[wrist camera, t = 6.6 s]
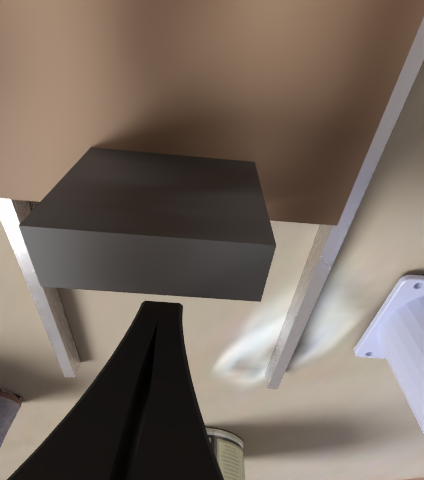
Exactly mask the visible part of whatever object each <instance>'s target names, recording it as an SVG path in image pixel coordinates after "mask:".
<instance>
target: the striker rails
mask: <svg viewBox="0 0 424 480" xmlns="http://www.w3.org/2000/svg"><path fill="white" fill-rule="evenodd" d="M423 61H424V17H423V20H422V22H421V25H420V27H419V29H418V32H417V34H416V37H415V39H414V42H413V44H412V46H411V49H410V51H409V54H408V56H407V58H406V61H405V63H404V66H403V68H402V71H401V73H400V75H399V78H398V80H397V83H396V85H395V87H394V90H393V92H392V95H391V97H390V100H389V102H388V104H387V107H386V109H385V112H384V114H383V116H382V119H381V121H380V124H379V126H378V129H377V131H376V133H375V136H374V138H373V141H372V143H371V145H370V148H369V150H368V153H367V155H366V157H365V160H364V162H363V165H362V167H361V170H360V172H359V174H358V177H357V179H356V182H355V184H354V186H353V189H352V191H351V194H350V196H349V199H348V201H347V203H346V206H345V208H344V211H343V213H342V215H341V218H340V220H339V223H338V225H337V226H335V225H322V224H321V226H320V228H319V231H318V234H317V236H316V239H315V242H314V244H313V247H312V250H311V252H310V255H309V258H308V260H307V263H306V266H305V268H304V271H303V274H302V276H301V279H300V282H299V285H298V287H297V290H296V293H295V295H294V298H293V301H292V303H291V306H290V309H289V311H288V314H287V317H286V319H285V322H284V325H283V327H282V330H281V333H280V336H279V338H278V341H277V344H276V346H275V349H274V352H273V354H272V357H271V360H270V362H269V365H268V368H267V370H266V373H265V375H266V382H267V388H272V389H278V386H279V384H280V382H281V380H282V377H283V375H284V373H285V371H286V368H287V366H288V364H289V362H290V359H291V357H292V355H293V353H294V350H295V348H296V346H297V344H298V341H299V339H300V337H301V335H302V332H303V330H304V328H305V326H306V323H307V321H308V319H309V317H310V314H311V312H312V310H313V308H314V305H315V303H316V301H317V299H318V296H319V294H320V292H321V290H322V287H323V285H324V283H325V281H326V279H327V276H328V274H329V272H330V270H331V267H332V265H333V263H334V261H335V258H336V256H337V254H338V252H339V249H340V247H341V245H342V243H343V240H344V238H345V236H346V234H347V231H348V229H349V227H350V225H351V222H352V220H353V218H354V216H355V213H356V211H357V209H358V207H359V204H360V202H361V200H362V198H363V195H364V193H365V191H366V189H367V186H368V184H369V182H370V180H371V177H372V175H373V173H374V171H375V168H376V166H377V164H378V162H379V159H380V157H381V155H382V153H383V151H384V148H385V146H386V144H387V142H388V139H389V137H390V135H391V133H392V130H393V128H394V126H395V124H396V121H397V119H398V117H399V115H400V112H401V110H402V108H403V106H404V103H405V101H406V99H407V97H408V94H409V92H410V90H411V88H412V85H413V83H414V81H415V79H416V76H417V74H418V72H419V70H420V67H421V65H422V63H423ZM31 211H32V210H31V207H30V203H29V201H24V200H12V199H0V218H1V221H2V223H3V226H4V228H5V231H6V233H7V236H8V238H9V241H10V243H11V246H12V248H13V250H14V253H15V255H16V258H17V260H18V263H19V265H20V268H21V270H22V273H23V275H24V278H25V280H26V283H27V285H28V288H29V290H30V293H31V295H32V297H33V300H34V302H35V305H36V307H37V310H38V312H39V315H40V317H41V320H42V322H43V325H44V327H45V330H46V332H47V335H48V337H49V340H50V342H51V345H52V347H53V349H54V352H55V354H56V357H57V359H58V362H59V364H60V367H61V369H62V372H63V374H64V377H73V378H75V377H76V375H77V372H78V369H79V367H80V364H81V361H80V358H79V355H78V352H77V349H76V346H75V343H74V340H73V337H72V334H71V330H70V327H69V324H68V321H67V318H66V315H65V312H64V309H63V306H62V303H61V299H60V296H59V293H58V290H57V288H54V287H41V286H40V284H39V281H38V278H37V275H36V273H35V270H34V267H33V265H32V262H31V259H30V256H29V254H28V251H27V248H26V246H25V243H24V240H23V237H22V235H21V232H20V229H19V227H18V225H19V224H20V223H21V222H22V221H23V220H24V219H25V218H26V217H27V216H28V215H29V213H30V212H31Z"/></svg>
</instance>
